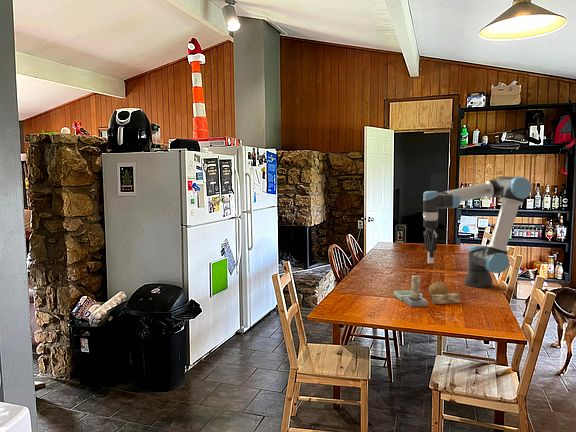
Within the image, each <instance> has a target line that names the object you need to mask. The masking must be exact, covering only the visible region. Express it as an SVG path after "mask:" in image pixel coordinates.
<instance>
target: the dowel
mask: <svg viewBox="0 0 576 432" xmlns="http://www.w3.org/2000/svg"><path fill="white" fill-rule="evenodd" d="M420 291H421V276H420V275H415V274H414V275H411V300H413V301H414V300H420V293H421V292H420Z"/></svg>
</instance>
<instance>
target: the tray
mask: <svg viewBox="0 0 576 432" xmlns="http://www.w3.org/2000/svg"><path fill="white" fill-rule="evenodd" d="M411 290H412V289H411ZM411 290H410V289H408V290H407V289H406V290H393V297H395V298H396V299H398V300H399V301H401V302H403V297H410V296H411ZM420 296H421V297H422V298H424V294H422V293H421V292H420Z"/></svg>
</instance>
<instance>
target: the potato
mask: <svg viewBox="0 0 576 432" xmlns="http://www.w3.org/2000/svg"><path fill="white" fill-rule="evenodd" d="M428 293H429V295H430V296H431V297H432V295H434V294H449V288H448V287H447V285H446V283H443V282H441V281H436V282H433V283H431V284H430V286H429V287H428Z"/></svg>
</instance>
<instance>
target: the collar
mask: <svg viewBox="0 0 576 432" xmlns="http://www.w3.org/2000/svg"><path fill="white" fill-rule="evenodd" d="M402 302H403V303H404V304H406V305H408V307H426V306H427V307H428V306H429V301H428V300H427V299H426V298H424V297H423V298H422V297H421V296H420V300H414V301H413V300H411V296H410V297H403V301H402Z"/></svg>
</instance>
